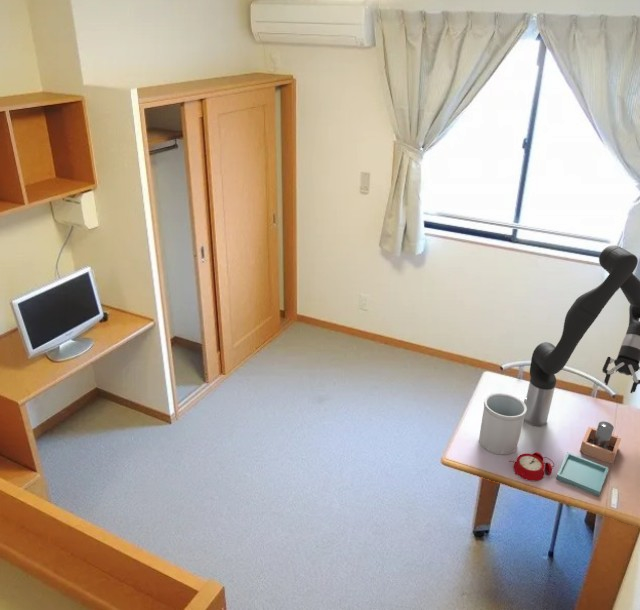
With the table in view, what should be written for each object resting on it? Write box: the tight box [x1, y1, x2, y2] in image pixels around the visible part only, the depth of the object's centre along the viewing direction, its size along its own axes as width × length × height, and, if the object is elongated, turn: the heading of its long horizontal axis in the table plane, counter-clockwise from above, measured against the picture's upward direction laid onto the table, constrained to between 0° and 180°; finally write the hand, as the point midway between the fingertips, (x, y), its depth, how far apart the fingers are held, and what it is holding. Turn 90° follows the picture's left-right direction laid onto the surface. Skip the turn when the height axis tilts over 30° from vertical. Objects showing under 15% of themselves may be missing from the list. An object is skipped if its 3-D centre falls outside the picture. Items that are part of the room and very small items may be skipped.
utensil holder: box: [479, 392, 527, 455], centre depth 216 cm, size 15×15×18 cm
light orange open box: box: [579, 426, 622, 464], centre depth 217 cm, size 11×11×4 cm
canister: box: [592, 421, 614, 450], centre depth 215 cm, size 5×5×11 cm
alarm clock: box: [508, 452, 555, 482], centre depth 207 cm, size 10×6×15 cm
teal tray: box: [555, 452, 610, 497], centre depth 205 cm, size 14×14×2 cm
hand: (618, 388), depth 217 cm, fingers open, 8 cm apart
